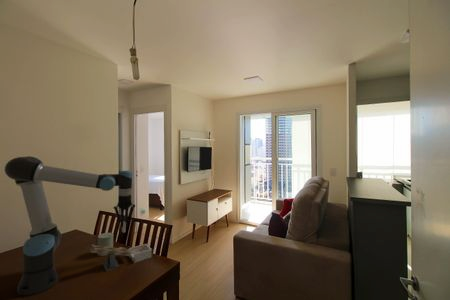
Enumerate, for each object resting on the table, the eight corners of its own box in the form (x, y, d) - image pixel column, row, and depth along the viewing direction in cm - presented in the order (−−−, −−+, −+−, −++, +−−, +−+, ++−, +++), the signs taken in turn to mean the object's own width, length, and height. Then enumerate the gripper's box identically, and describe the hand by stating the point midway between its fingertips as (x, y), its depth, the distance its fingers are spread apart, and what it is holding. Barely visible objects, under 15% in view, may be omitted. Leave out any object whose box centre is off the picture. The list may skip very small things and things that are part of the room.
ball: (140, 253, 134) (145, 249, 136) (138, 251, 137) (143, 247, 138) (142, 257, 135) (147, 253, 137) (140, 255, 137) (145, 251, 139)
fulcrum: (106, 271, 118) (106, 257, 119) (102, 264, 126) (102, 250, 126) (119, 267, 123) (119, 253, 123) (115, 260, 131) (115, 247, 131)
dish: (134, 263, 128) (134, 254, 128) (128, 256, 136) (128, 248, 136) (152, 257, 135) (152, 249, 135) (145, 251, 143) (146, 243, 143)
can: (108, 256, 136) (108, 237, 136) (94, 255, 136) (94, 237, 136) (116, 249, 145) (116, 232, 145) (102, 249, 145) (103, 231, 145)
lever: (90, 254, 116) (93, 247, 117) (87, 247, 125) (90, 240, 126) (129, 258, 129) (132, 251, 130) (123, 251, 138) (126, 244, 139)
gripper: (115, 196, 129) (113, 235, 129) (137, 194, 138) (136, 231, 137) (112, 194, 135) (111, 232, 134) (133, 192, 143) (132, 228, 143)
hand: (123, 231), depth 136 cm, fingers closed
